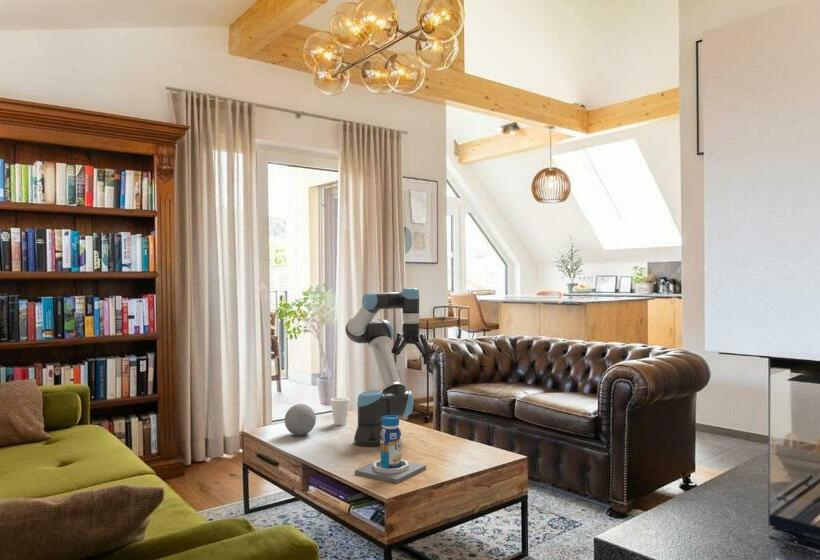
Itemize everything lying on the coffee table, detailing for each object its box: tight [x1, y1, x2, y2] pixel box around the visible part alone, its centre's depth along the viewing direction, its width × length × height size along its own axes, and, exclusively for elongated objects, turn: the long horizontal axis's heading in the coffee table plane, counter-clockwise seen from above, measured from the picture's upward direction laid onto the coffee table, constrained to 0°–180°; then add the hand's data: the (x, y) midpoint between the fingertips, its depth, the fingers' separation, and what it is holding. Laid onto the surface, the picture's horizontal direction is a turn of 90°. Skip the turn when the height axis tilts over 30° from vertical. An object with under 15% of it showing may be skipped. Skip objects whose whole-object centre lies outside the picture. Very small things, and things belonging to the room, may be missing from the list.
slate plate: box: [354, 458, 427, 484], centre depth 238 cm, size 20×20×3 cm
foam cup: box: [330, 396, 350, 426], centre depth 316 cm, size 10×9×13 cm
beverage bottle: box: [380, 415, 402, 469], centre depth 238 cm, size 8×8×20 cm
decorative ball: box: [284, 403, 317, 436], centre depth 295 cm, size 15×15×15 cm
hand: (411, 370), depth 269 cm, fingers open, 13 cm apart
